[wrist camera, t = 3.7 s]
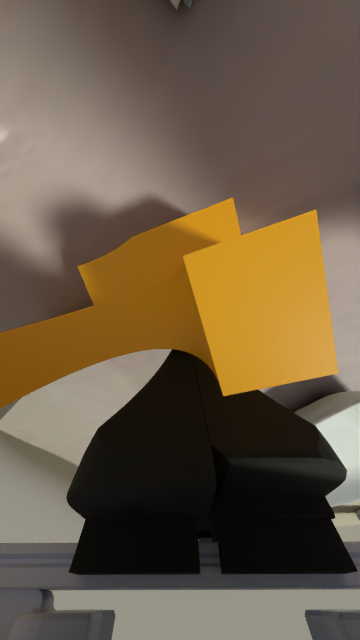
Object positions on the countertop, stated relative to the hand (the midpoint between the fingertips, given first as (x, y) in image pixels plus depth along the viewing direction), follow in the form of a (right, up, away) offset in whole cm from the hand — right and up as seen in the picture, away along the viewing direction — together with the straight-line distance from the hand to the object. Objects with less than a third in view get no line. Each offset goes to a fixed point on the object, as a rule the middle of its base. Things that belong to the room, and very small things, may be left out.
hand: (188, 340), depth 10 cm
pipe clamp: (-4, +2, 0) cm, 4 cm away
